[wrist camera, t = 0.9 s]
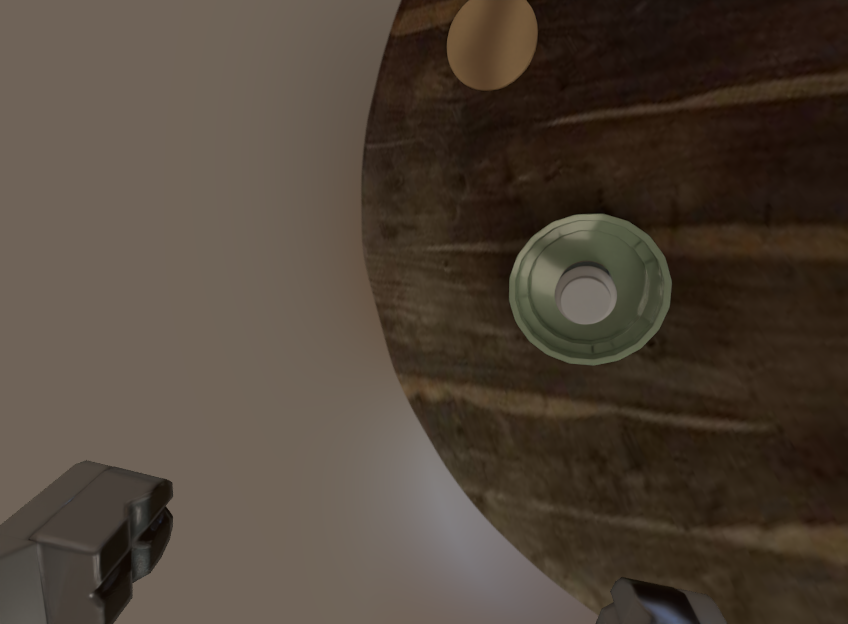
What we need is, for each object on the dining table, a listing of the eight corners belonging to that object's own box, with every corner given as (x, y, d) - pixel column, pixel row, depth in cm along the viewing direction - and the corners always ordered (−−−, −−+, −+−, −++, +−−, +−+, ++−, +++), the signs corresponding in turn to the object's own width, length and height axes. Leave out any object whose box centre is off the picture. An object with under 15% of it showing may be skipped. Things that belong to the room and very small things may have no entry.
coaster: (539, -18, 42) (539, -21, 42) (536, 85, 44) (536, 84, 43) (447, 0, 45) (446, -3, 45) (448, 96, 47) (446, 94, 46)
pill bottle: (550, 273, 46) (541, 284, 38) (600, 251, 44) (602, 257, 36) (571, 320, 46) (567, 341, 38) (622, 299, 44) (630, 317, 36)
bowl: (670, 212, 42) (678, 211, 38) (657, 359, 44) (663, 371, 41) (516, 216, 47) (510, 215, 43) (513, 348, 49) (507, 358, 46)
